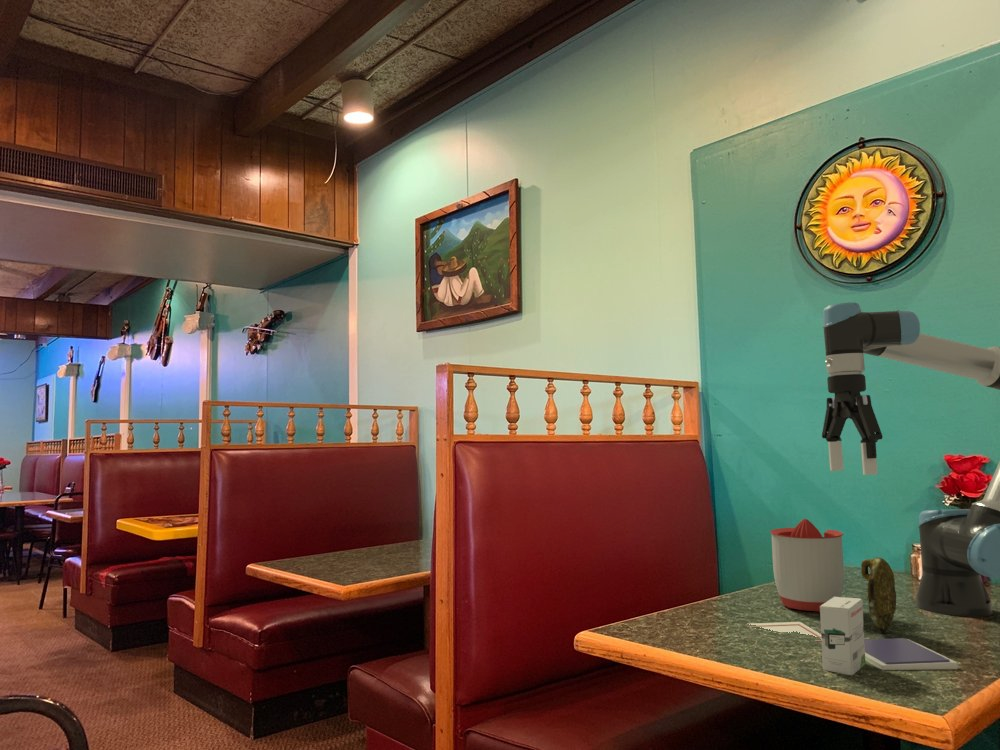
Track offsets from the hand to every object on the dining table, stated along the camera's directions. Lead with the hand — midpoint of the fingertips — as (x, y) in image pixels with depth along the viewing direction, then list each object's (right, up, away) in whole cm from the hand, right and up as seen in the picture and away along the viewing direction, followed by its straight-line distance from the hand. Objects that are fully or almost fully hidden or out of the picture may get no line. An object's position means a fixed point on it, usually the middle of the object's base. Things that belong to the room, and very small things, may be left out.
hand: (852, 472), depth 159 cm
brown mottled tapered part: (-1, -31, -11) cm, 33 cm away
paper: (-20, -31, -12) cm, 39 cm away
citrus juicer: (-4, -32, +11) cm, 34 cm away
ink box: (-18, -30, -34) cm, 48 cm away
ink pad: (-6, -29, -28) cm, 41 cm away
